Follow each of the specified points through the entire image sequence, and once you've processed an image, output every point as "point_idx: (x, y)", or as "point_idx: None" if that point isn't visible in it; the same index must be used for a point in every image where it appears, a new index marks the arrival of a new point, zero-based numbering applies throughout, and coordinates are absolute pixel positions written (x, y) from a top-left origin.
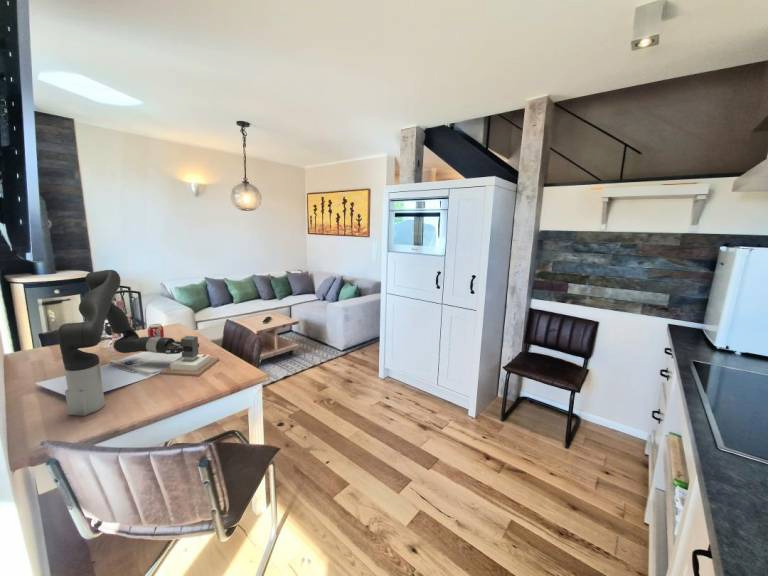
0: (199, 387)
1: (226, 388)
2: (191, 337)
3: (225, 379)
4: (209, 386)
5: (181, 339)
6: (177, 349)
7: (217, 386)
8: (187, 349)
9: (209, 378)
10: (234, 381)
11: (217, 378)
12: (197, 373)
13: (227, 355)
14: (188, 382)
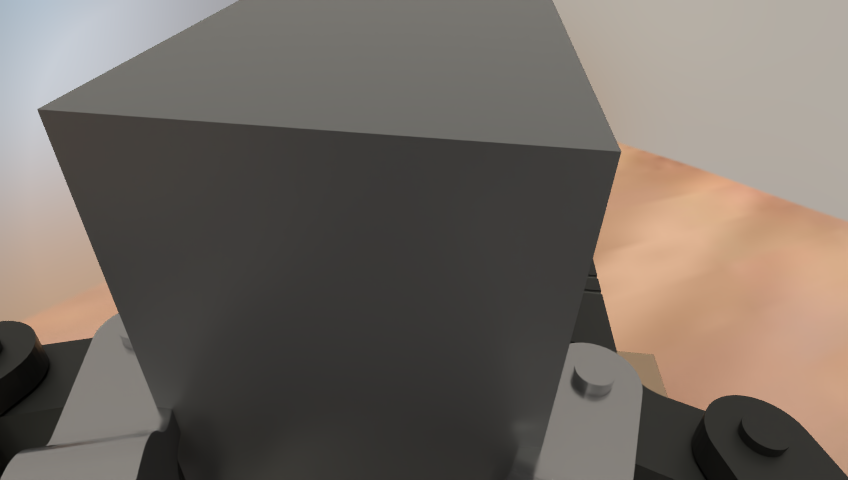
0: (815, 294)
1: (720, 178)
2: (339, 19)
3: (614, 204)
4: (756, 248)
5: (606, 156)
6: (816, 474)
7: (727, 214)
8: (593, 294)
9: (642, 283)
10: (620, 168)
11: (619, 241)
12: (638, 370)
13: (84, 301)
14: (808, 408)
